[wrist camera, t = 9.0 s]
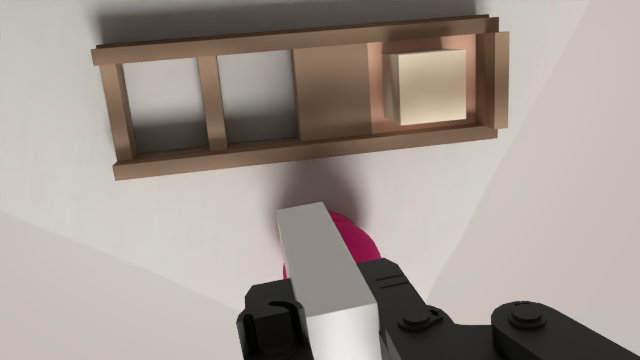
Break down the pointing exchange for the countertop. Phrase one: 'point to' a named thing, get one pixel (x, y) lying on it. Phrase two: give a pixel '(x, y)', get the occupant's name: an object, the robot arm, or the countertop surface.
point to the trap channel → (317, 92)
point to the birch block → (424, 86)
